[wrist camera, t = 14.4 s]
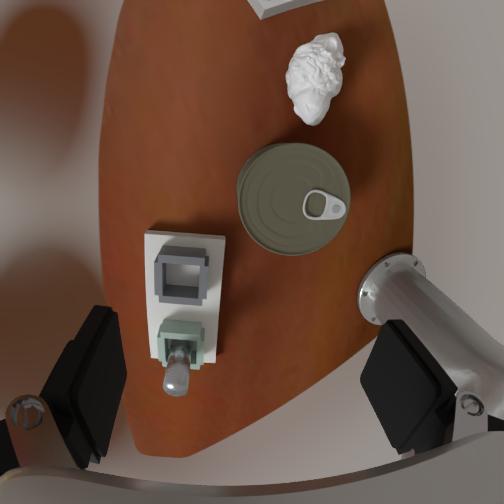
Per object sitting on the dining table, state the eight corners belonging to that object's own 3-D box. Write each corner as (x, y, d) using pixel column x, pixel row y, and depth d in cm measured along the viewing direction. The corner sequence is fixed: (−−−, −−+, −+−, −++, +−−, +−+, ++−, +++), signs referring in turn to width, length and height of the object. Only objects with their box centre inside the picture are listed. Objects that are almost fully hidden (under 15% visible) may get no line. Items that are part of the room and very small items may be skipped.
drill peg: (197, 342, 42) (192, 392, 33) (180, 349, 42) (173, 399, 33) (185, 327, 41) (177, 377, 31) (168, 335, 41) (157, 384, 32)
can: (245, 132, 33) (250, 131, 27) (338, 153, 35) (362, 158, 29) (227, 227, 38) (228, 247, 31) (317, 241, 40) (334, 262, 33)
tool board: (215, 356, 45) (215, 376, 41) (152, 351, 44) (147, 370, 40) (225, 235, 38) (225, 249, 34) (147, 230, 36) (138, 242, 32)
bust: (313, 44, 31) (274, 1, 22) (369, 54, 28) (347, 6, 19) (289, 124, 35) (242, 101, 26) (345, 140, 32) (315, 116, 23)
